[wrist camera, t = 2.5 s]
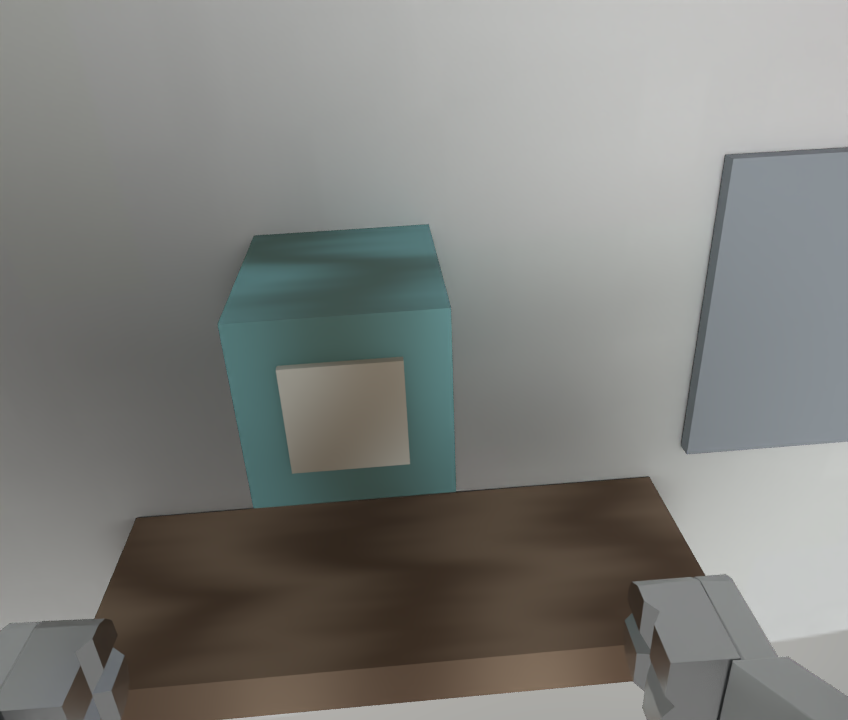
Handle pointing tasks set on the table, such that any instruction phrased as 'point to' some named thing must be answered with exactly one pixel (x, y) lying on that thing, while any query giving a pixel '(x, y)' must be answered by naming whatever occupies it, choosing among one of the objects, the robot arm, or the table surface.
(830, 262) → the grey mat
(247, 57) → the table surface
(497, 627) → the walnut board
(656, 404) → the table surface
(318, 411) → the teal block
